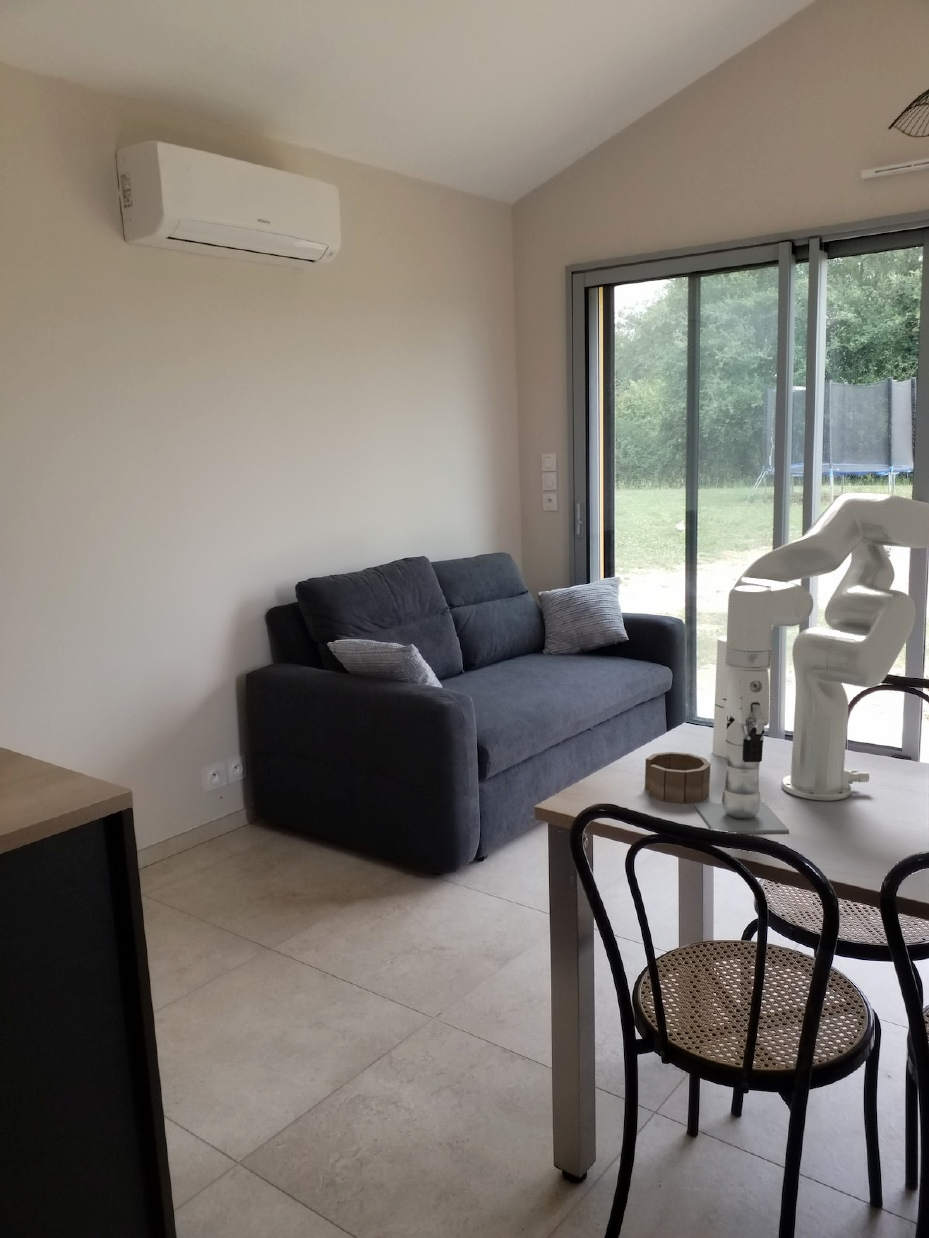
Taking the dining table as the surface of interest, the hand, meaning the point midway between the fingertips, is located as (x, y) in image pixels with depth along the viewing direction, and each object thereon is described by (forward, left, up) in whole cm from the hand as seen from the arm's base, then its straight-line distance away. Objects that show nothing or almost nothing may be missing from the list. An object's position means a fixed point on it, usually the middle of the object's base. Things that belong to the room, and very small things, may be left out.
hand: (743, 752), depth 176 cm
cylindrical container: (-9, -37, -12) cm, 40 cm away
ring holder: (+8, -14, -12) cm, 20 cm away
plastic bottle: (0, 0, -12) cm, 12 cm away
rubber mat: (0, 0, -12) cm, 12 cm away
